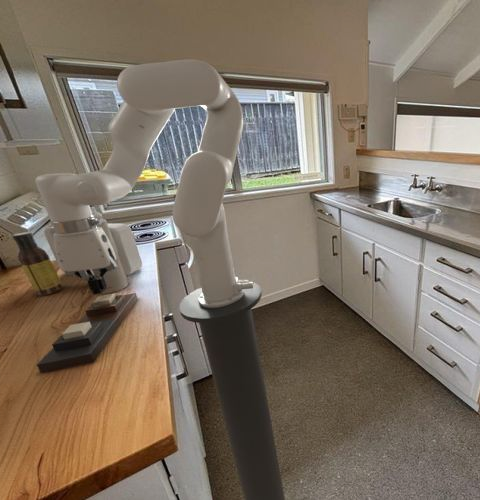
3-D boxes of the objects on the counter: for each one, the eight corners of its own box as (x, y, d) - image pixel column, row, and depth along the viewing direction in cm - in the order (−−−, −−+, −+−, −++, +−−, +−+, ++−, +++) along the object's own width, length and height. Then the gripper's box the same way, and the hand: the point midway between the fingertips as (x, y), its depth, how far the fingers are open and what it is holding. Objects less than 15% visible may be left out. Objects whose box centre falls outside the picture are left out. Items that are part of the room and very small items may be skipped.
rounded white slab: (55, 277, 102) (33, 229, 96) (76, 268, 109) (57, 223, 103) (127, 278, 100) (111, 229, 93) (144, 269, 107) (129, 223, 100)
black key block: (119, 325, 73) (114, 312, 72) (93, 362, 61) (86, 347, 59) (76, 333, 71) (70, 319, 69) (40, 373, 58) (32, 357, 57)
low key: (116, 299, 79) (114, 293, 78) (111, 305, 76) (108, 299, 75) (101, 301, 78) (98, 296, 77) (94, 308, 75) (92, 302, 74)
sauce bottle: (68, 285, 95) (43, 229, 88) (54, 294, 90) (26, 235, 83) (46, 288, 94) (19, 231, 87) (30, 297, 89) (0, 237, 81)
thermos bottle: (91, 295, 89) (56, 207, 79) (107, 283, 96) (76, 202, 86) (119, 292, 90) (88, 205, 80) (132, 281, 98) (105, 200, 88)
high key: (92, 327, 67) (89, 321, 66) (84, 336, 63) (81, 330, 63) (73, 331, 66) (70, 324, 65) (64, 340, 62) (61, 334, 62)
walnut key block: (137, 299, 86) (133, 287, 84) (119, 325, 73) (114, 312, 72) (102, 305, 83) (97, 293, 82) (76, 333, 71) (70, 319, 69)
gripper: (118, 219, 75) (137, 281, 81) (46, 225, 70) (73, 290, 77) (105, 226, 68) (127, 293, 74) (25, 233, 63) (56, 303, 70)
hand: (100, 291), depth 75 cm, fingers closed
